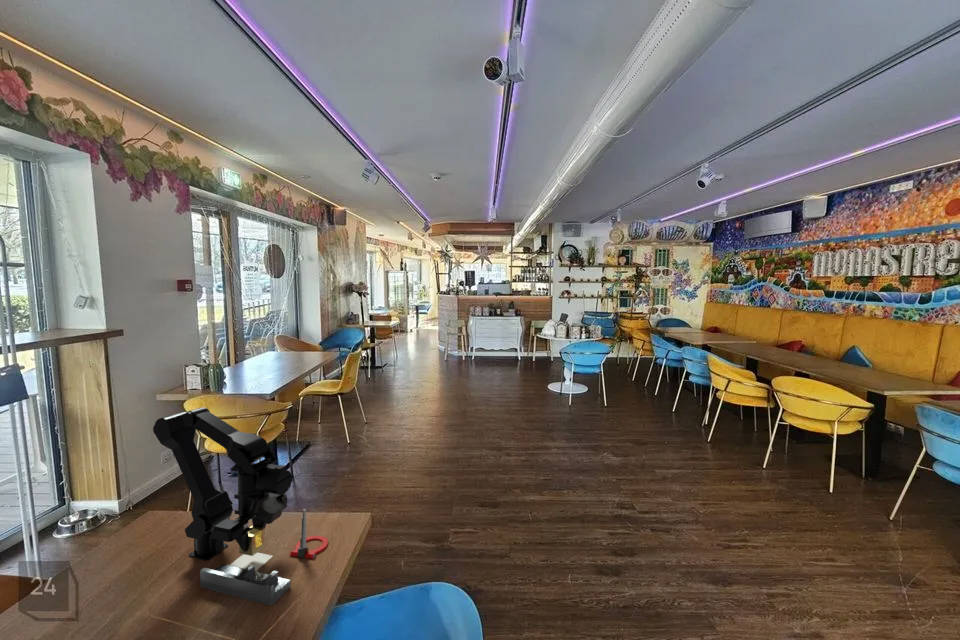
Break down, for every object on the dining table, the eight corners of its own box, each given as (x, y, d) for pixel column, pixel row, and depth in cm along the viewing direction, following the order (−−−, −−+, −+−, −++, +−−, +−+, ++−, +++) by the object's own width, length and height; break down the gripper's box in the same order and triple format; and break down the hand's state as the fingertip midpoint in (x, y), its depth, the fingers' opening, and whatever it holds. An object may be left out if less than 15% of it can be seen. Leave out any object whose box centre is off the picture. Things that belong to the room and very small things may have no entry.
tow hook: (306, 537, 115) (286, 557, 106) (308, 493, 115) (287, 509, 106) (333, 541, 114) (315, 561, 105) (335, 496, 114) (317, 513, 104)
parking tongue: (229, 566, 102) (229, 564, 102) (248, 551, 108) (248, 550, 108) (255, 572, 100) (255, 571, 100) (273, 557, 106) (273, 555, 106)
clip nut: (239, 553, 102) (239, 534, 102) (252, 543, 106) (251, 525, 106) (252, 556, 101) (252, 537, 101) (264, 546, 105) (264, 528, 105)
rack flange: (200, 588, 94) (200, 570, 94) (222, 571, 100) (222, 554, 100) (271, 606, 89) (271, 587, 89) (290, 587, 95) (290, 569, 95)
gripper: (247, 512, 91) (248, 576, 93) (302, 476, 110) (303, 530, 111) (208, 504, 94) (210, 567, 95) (268, 470, 112) (269, 523, 113)
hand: (252, 545), depth 104 cm, fingers closed on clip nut, 4 cm apart
